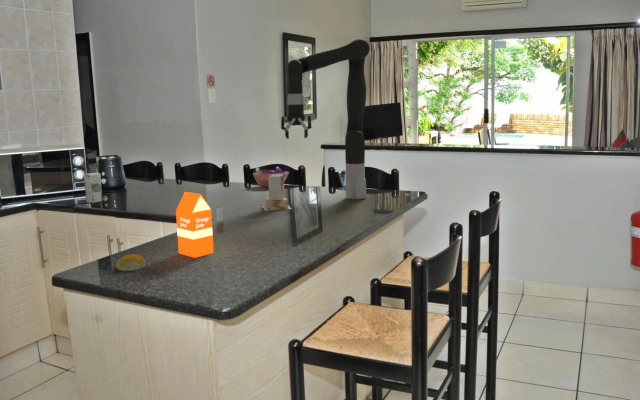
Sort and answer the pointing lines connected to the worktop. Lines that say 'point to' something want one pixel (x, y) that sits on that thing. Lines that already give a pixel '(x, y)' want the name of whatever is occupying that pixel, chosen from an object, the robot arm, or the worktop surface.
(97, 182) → the syrup box
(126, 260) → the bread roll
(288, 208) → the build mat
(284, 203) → the oak block
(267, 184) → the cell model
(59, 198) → the worktop surface
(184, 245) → the orange juice
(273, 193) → the small box
